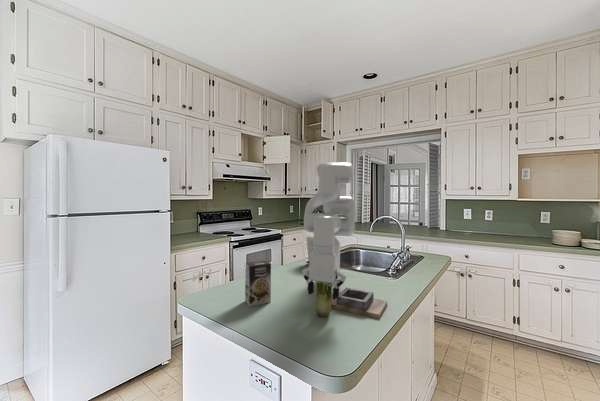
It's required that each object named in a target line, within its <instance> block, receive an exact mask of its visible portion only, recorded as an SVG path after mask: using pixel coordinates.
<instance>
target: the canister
mask: <svg viewBox="0 0 600 401" xmlns="http://www.w3.org/2000/svg"><path fill="white" fill-rule="evenodd" d="M305 239H306V240H305V241H306V249H307V258H308V262H309V261H310V256H311V252H313V249H312V248H310V246H311V245H313V244H314V233H311V234H307V235H306V236H305Z"/></svg>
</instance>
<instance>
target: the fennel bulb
mask: <svg viewBox="0 0 600 401" xmlns="http://www.w3.org/2000/svg"><path fill="white" fill-rule="evenodd" d="M332 286H333V284H328V283H325V282H320V281H316V297H315V307H314V308H315V312H316V314H317V315H318V316H320V317H328V316H330V315H331V314H330V313H331V312H332V308H331V305H332V300H331V295H332Z"/></svg>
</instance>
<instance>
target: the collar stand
mask: <svg viewBox="0 0 600 401" xmlns="http://www.w3.org/2000/svg"><path fill="white" fill-rule="evenodd" d="M374 295H375V294H374V291H369V290H368V291H367V290H361V289H357V288H351V287H345V288H344V289H343V290H342V291H339V296H338V297H337V298H336V299H335V300H334V299H333V293H331V300H332V305H331V309H334V310H337V311H338V310H339V311H344V312H348V313H350V314H351V313H353V314H356V315H360V316H364V317H370V318H374V319H379V320H380V318H381V316H382V315H383V313H384V312H385V310H386V307H387V306H388V300H384V299H378V298H374Z"/></svg>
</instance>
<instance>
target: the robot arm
mask: <svg viewBox="0 0 600 401" xmlns="http://www.w3.org/2000/svg"><path fill="white" fill-rule="evenodd" d="M316 173H317V177H318V187H317V189H318V190H317V192H316V193H314V195H312V197H310V199H308V201H307V203H306V206H305V209H304V216H303V227H304V230H305V231H307V233H313V234H314V244H313V245H311V246H310V248H312V249H313V252H311V256H310V261H309V260H308V262H309V264H308V267H306V268H304V269H302V270H301V274H302V276H303V278H304V280H305V281H306V283H307V292H308V295H312V294H313V293H314V291H315V282H319V283H326V284H331V285H332V286H333V289H332V294H333V299H334V300H335V299H336V298H337V297H338V296H339V292H340V287H341V286H342V285H344V283H345V282H346V279H347V275H345V274H344V273H342V272H341V270H340V269H341V243H340V241H339V239H338V238H337V237H336V236H338V237H339V236H341V237H344V236H345V237H350V236H353V235H354V233H355V229H356V228H355V226H356V222H355V220H356V216H355V215H356V205H355V200H354V198H353V197H352V196H350V195H349V196H347V195H346V196H343V195H341V186H340V184H350V183H352V182H353V180H354V176H355V175H354V173H355V172H354V165H353V164H352V163H351V162H322V163H319V164H318V165H317V167H316ZM320 206H323V208H322V209H323V212H324V213H321V212H314V211H315V210H316V209H317V208H318V207H320Z"/></svg>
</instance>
